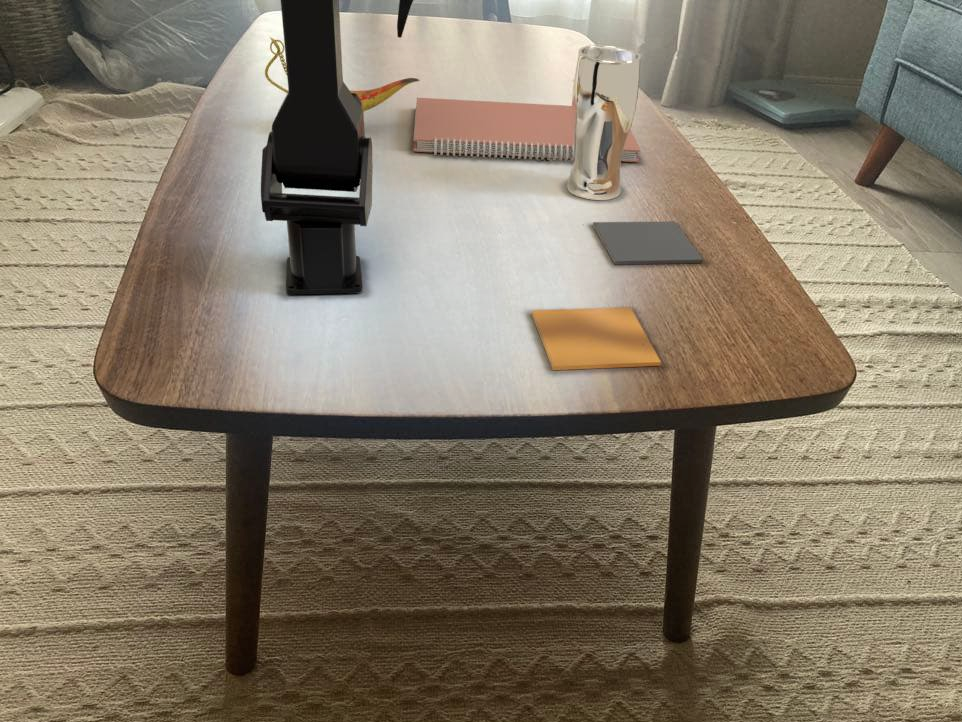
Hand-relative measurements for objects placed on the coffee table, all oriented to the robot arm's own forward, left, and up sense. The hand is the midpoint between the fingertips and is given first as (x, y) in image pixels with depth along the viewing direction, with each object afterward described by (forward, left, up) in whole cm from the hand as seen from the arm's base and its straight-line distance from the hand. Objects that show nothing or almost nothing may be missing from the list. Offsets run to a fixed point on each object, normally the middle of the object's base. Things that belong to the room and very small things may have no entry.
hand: (355, 33), depth 98 cm
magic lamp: (+10, +1, -14) cm, 18 cm away
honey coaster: (-40, -18, -14) cm, 46 cm away
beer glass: (-8, -26, -14) cm, 31 cm away
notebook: (+9, -21, -14) cm, 27 cm away
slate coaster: (-22, -28, -14) cm, 38 cm away
